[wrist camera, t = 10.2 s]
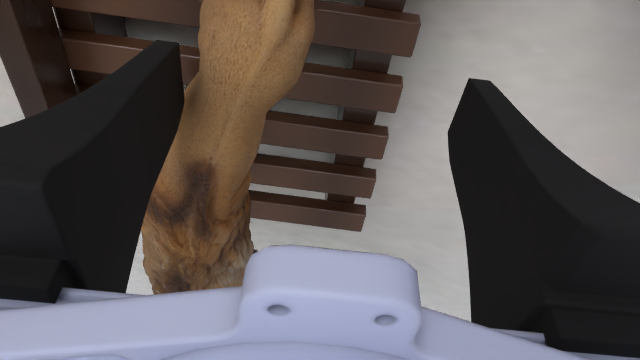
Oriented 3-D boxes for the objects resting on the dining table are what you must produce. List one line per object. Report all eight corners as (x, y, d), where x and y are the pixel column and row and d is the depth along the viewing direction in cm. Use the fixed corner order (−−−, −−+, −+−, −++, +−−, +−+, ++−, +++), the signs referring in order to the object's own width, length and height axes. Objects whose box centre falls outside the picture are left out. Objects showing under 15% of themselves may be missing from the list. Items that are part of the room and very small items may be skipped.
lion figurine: (266, 196, 25) (272, 360, 19) (156, 184, 24) (120, 355, 17) (340, -136, 16) (404, -53, 10) (170, -181, 15) (106, -121, 8)
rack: (459, -190, 18) (488, -138, 14) (361, 185, 33) (359, 270, 28) (7, -261, 17) (-117, -232, 13) (112, 152, 32) (70, 233, 27)
